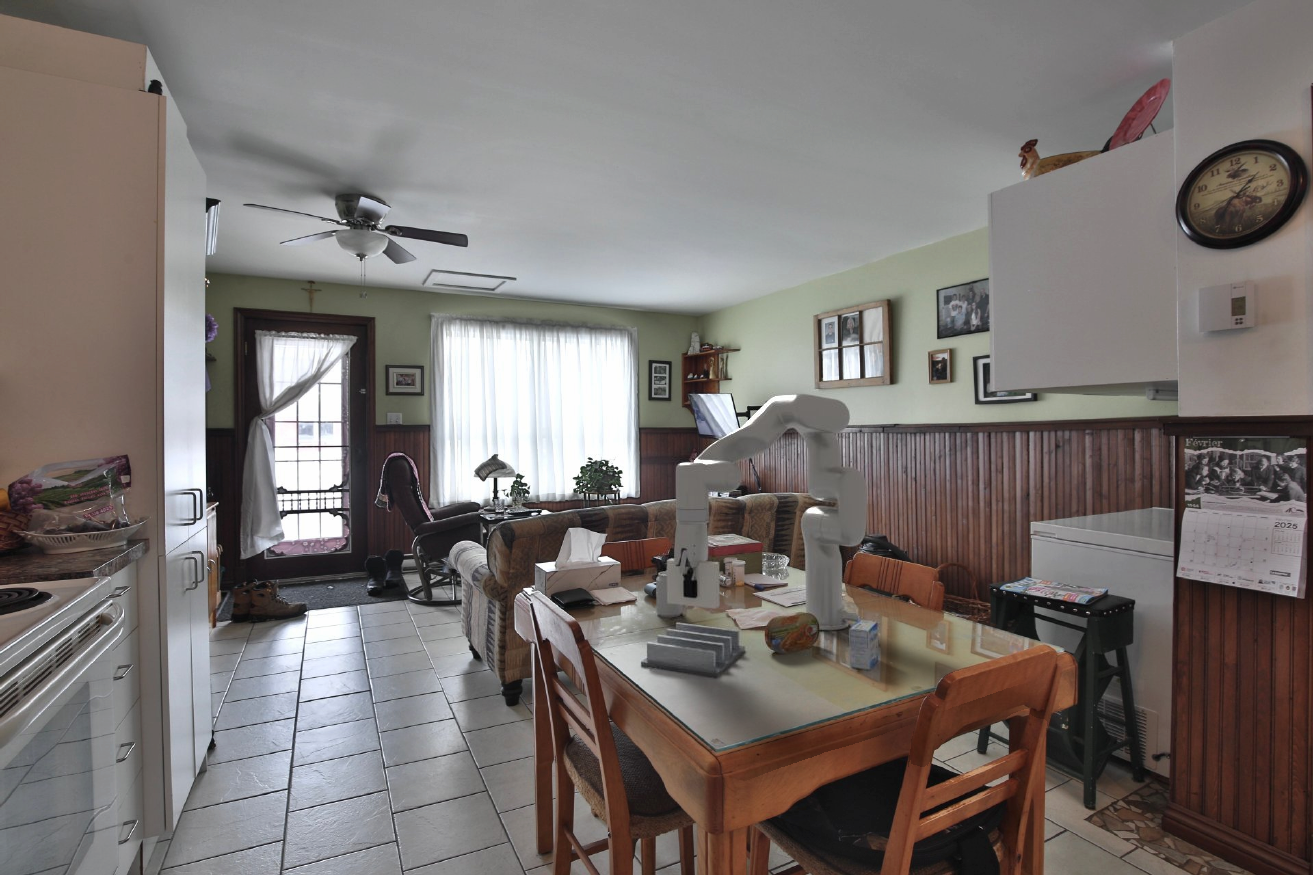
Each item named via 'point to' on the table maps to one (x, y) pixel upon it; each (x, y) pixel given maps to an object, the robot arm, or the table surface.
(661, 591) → the can
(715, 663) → the dish rack
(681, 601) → the cream white block
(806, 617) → the tin
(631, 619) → the table surface
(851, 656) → the medicine box
